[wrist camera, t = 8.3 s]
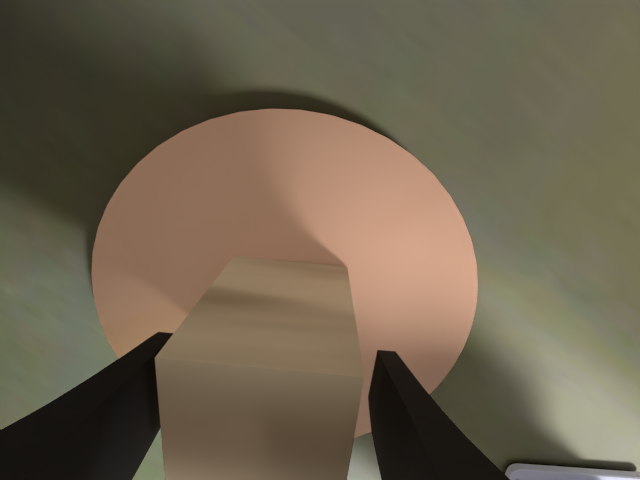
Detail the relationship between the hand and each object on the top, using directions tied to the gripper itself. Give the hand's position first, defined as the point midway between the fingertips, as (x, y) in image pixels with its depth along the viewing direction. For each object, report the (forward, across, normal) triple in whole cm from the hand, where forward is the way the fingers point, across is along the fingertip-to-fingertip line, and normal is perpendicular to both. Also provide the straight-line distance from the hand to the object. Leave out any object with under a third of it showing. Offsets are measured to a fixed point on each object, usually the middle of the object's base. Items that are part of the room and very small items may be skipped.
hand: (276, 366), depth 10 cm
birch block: (+3, 0, 0) cm, 3 cm away
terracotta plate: (+4, 0, 0) cm, 4 cm away
